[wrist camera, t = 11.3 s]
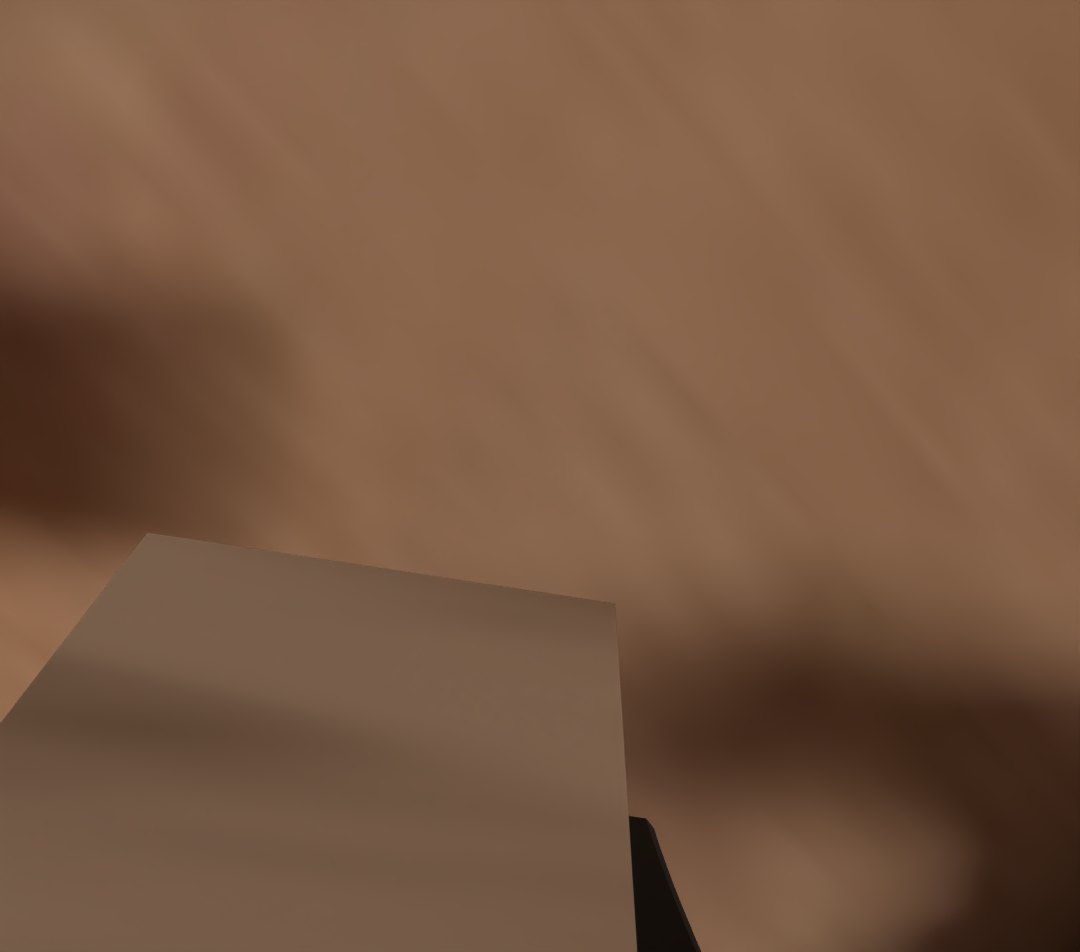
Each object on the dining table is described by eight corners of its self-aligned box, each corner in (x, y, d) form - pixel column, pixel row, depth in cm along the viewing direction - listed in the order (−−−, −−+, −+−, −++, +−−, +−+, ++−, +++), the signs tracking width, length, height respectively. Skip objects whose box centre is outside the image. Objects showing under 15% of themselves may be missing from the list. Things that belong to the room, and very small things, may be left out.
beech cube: (541, 925, 13) (523, 1420, 9) (153, 870, 13) (-74, 1349, 8) (614, 603, 11) (641, 1044, 6) (147, 532, 11) (-164, 935, 6)
